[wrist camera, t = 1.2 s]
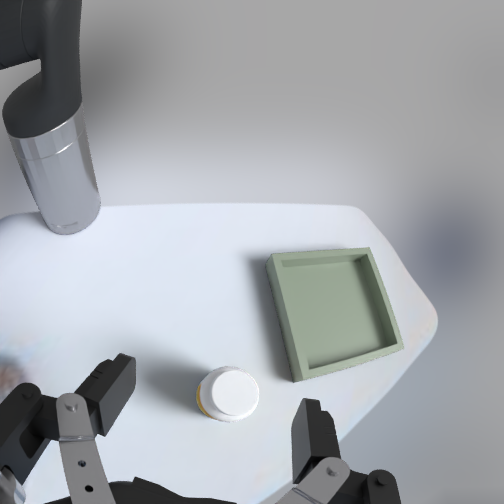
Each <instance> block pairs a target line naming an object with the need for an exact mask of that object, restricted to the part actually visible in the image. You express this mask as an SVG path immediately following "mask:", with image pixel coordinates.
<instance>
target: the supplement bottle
mask: <svg viewBox="0 0 504 504" xmlns="http://www.w3.org/2000/svg"><path fill="white" fill-rule="evenodd" d="M258 399H259V389H258V385H257V383H256V381H255V380H254V379H253V378H252V376H251V375H250V374H248V373H247V372H246V371H244V370H242V369H240V368H236V367H230V366H227V367H221V368H218V369H215V370H213V371H212V372H210V373H209V374H208V375H207V376H206V377H205V378H204V379H203V380H202V381H201V383H200V384H199V386H198V388H197V391H196V401H197V405H198V407H199V408H200V410H201V411H202V412H203V413H204V414H205V415H206V416H208V417H210V418H212V419H215V420H219V421H223V422H236V421H240V420H243V419H245V418H246V417H248V416H249V415H250V414H251V413H252V412H253V411H254V409H255V408H256V406H257V403H258Z"/></svg>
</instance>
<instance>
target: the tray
mask: <svg viewBox="0 0 504 504" xmlns="http://www.w3.org/2000/svg"><path fill="white" fill-rule="evenodd" d="M265 266H266V270H267V274H268V278H269V282H270V286H271V290H272V294H273V298H274V303H275V307H276V311H277V315H278V319H279V323H280V327H281V332H282V336H283V340H284V344H285V348H286V353H287V357H288V361H289V365H290V370H291V374H292V378H293V382H294V383H295V382H299V381H303V380H307V379H311V378H315V377H318V376H322V375H326V374H329V373H333V372H336V371H340V370H343V369H346V368H350V367H353V366H356V365H359V364H362V363H365V362H368V361H371V360H374V359H377V358H380V357H383V356H386V355H389V354H391V353H394V352H397V351H399V350H402V349H404V345H403V341H402V338H401V335H400V331H399V328H398V325H397V322H396V319H395V316H394V313H393V310H392V307H391V304H390V301H389V298H388V295H387V292H386V289H385V287H384V284H383V281H382V278H381V276H380V273H379V270H378V268H377V265H376V262H375V260H374V257H373V255H372V252H371V250H370V247H367V248H353V249H338V250H323V251H307V252H292V253H277V254H271V256H270V258H269V259H268V261H267V263H266V264H265Z"/></svg>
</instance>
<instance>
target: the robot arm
mask: <svg viewBox="0 0 504 504" xmlns="http://www.w3.org/2000/svg"><path fill="white" fill-rule="evenodd" d="M81 6H82V0H0V70H2V69H6V68H8V67H12V66H15V65H19V64H22V63H25V62H29V61H33V60H37V59H40V60H41V72H39V73H38V74H36V75H35V76H33V77H32V78H30V79H29V80H27V81H26V82H24V83H23V84H21V85H20V86H19V87H18V88H17V89H16V90H14V91H13V92H12V94H11V95H10V96H9V97H8V98H7V100H6V102H5V103H4V106H3V110H2V115H3V120H4V124H5V127H6V130H7V133H8V135H9V139H10V142H11V144H12V147H13V150H14V152H15V155H16V158H17V160H18V163H19V165H20V168H21V170H22V173H23V175H24V177H25V179H26V182H27V184H28V186H29V189H30V191H31V193H32V195H33V198H34V200H35V202H36V204H37V206H38V208H39V210H40V212H41V214H42V216H43V218H44V220H45V222H46V224H47V226H48V227H49V228H50V229H51V230H52V231H53V232H55V233H58V234H65V235H68V234H74V233H76V232H79V231H81V230H83V229H85V228H86V227H87V226H89V225H90V224H91V223H92V222H93V221H94V219H95V218H96V216H97V215H98V213H99V210H100V204H101V202H100V196H99V192H98V188H97V184H96V178H95V174H94V169H93V164H92V159H91V154H90V149H89V143H88V137H87V132H86V125H85V120H84V112H83V104H82V95H81V82H80V59H79V34H80V19H81ZM135 384H136V360H135V358H134V357H131V356H128V355H125V354H122V353H120V354H118V356H117V357H116V358H115V359H114V360H113V361H112V360H109V359H107V360H105V361H103V362H101V363H100V364H99V365H98V366H97V367H96V368H95V369H94V371H92V373H91V374H90V376H88V377H87V378H86V379H85V381H84V382H83V383H82V384H81V385H80V386H79V388H78V389H77V390H76V391H75V392H74V393H66V394H63V395H61V396H60V397H59V398H54V397H50V396H46V395H42V394H41V391H40V389H39V388H38V387H37V386H36V385H34V384H32V383H22V384H19V385H18V386H17V387H16V388H15V389H14V390H13V391H12V392H11V393H10V394H9V395H8V396H7V397H6V398H5V399H4V401H3V402H2V403H1V404H0V504H24V502H25V499H26V494H25V491H24V489H23V487H22V485H23V483H24V482H25V480H26V479H27V477H28V475H29V474H30V472H31V470H32V469H33V467H34V466H35V464H36V462H37V461H38V459H39V458H40V456H41V455H42V453H43V451H44V450H45V448H46V447H47V445H48V444H49V442H50V441H51V440H55V441H59V446H60V451H61V457H62V462H63V467H64V472H65V476H66V481H67V485H68V489H69V493H70V496H69V497H66V498H62V499H59V500H56V501H52V502H49V503H45V504H237V503H234V502H228V501H222V500H217V499H212V498H188V497H182V496H180V495H178V494H176V493H174V492H172V491H170V490H168V489H166V488H164V487H162V486H160V485H159V484H155V483H152V482H149V481H146V480H143V479H141V478H138V477H134V480H133V482H129V481H116V482H110V483H108V481H107V478H106V475H105V472H104V469H103V466H102V463H101V460H100V456H99V453H98V449H97V446H96V442H95V437H96V436H97V434H100V435H102V436H104V437H105V436H106V435H107V433H108V432H109V430H110V428H111V427H112V425H113V423H114V422H115V420H116V419H117V417H118V415H119V414H120V412H121V411H122V409H123V407H124V406H125V404H126V403H127V401H128V399H129V398H130V396H131V395H132V393H133V391H134V388H135ZM291 438H292V469H293V484H298V485H297V486H296V487H295V488H292V489H291V490H290V491H289V492H288V493H286V494H285V495H284V496H283V497H282V498H281V499H280V500H279V501H278V502H277V503H275V504H401V500H400V496H399V492H398V488H397V483H396V479H395V477H394V476H393V475H392V474H391V473H390V472H388V471H385V470H374V471H372V472H371V473H370V474H369V475H367V474H362V473H358V472H355V471H352V470H350V468H349V466H348V465H347V463H346V462H345V461H343V460H341V456H340V451H339V445H338V440H337V435H336V430H335V425H334V420H333V418H332V417H331V415H330V414H329V412H328V411H321V406H320V401H319V400H315V399H307V398H303V399H302V401H301V403H300V406H299V408H298V410H297V413H296V415H295V417H294V419H293V423H292V428H291Z"/></svg>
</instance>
